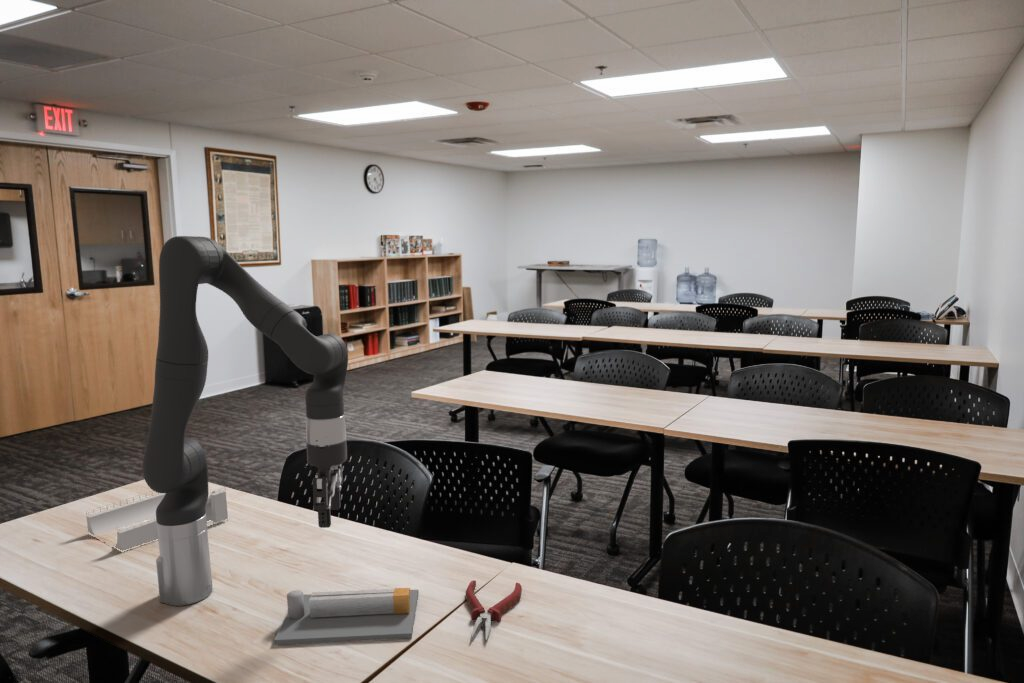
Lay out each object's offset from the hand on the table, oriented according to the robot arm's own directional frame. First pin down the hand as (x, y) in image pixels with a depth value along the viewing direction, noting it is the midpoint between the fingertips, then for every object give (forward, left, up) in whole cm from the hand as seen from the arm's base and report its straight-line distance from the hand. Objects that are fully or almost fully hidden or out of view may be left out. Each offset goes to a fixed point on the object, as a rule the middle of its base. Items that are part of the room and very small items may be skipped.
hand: (330, 517), depth 132 cm
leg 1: (+6, -3, -18) cm, 19 cm away
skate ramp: (-55, +45, -20) cm, 73 cm away
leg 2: (+6, -4, -18) cm, 19 cm away
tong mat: (+4, -3, -19) cm, 20 cm away
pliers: (+29, -3, -20) cm, 36 cm away
